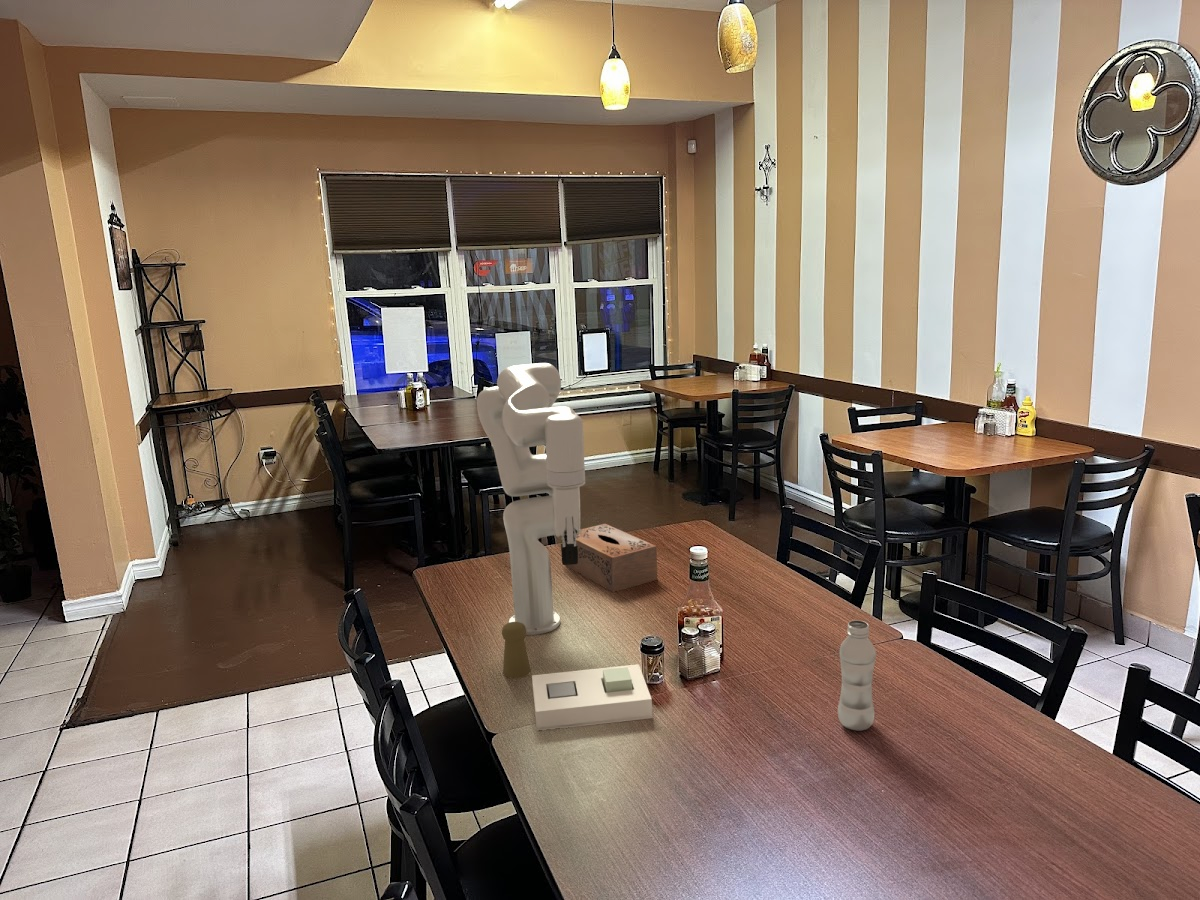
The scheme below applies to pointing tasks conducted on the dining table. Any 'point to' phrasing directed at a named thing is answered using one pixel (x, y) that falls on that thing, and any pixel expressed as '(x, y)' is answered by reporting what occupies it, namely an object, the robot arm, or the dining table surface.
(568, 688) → the charcoal key
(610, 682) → the sage key
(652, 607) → the dining table surface
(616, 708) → the key panel
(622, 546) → the tissue box cover
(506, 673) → the brown pawn
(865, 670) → the plastic bottle
